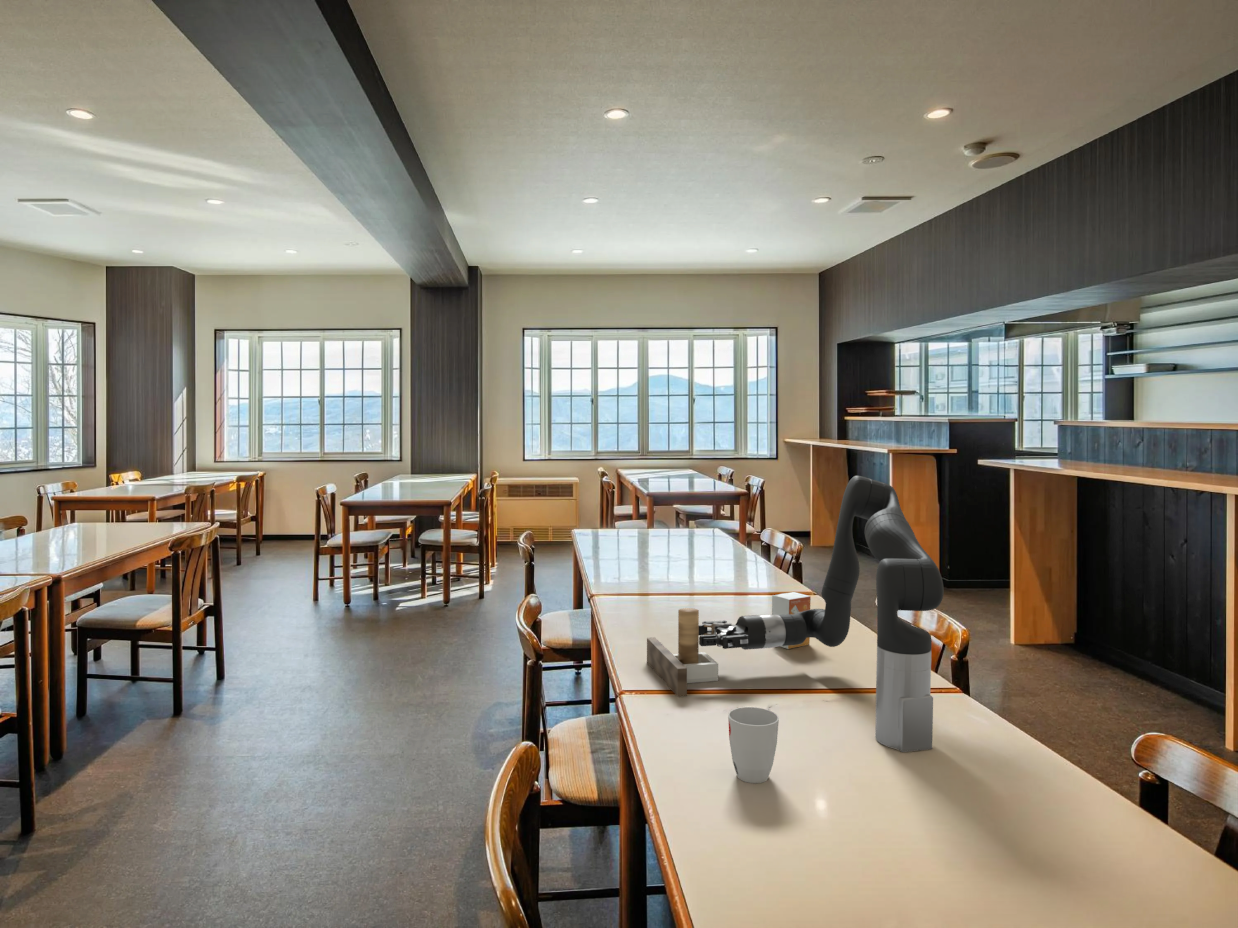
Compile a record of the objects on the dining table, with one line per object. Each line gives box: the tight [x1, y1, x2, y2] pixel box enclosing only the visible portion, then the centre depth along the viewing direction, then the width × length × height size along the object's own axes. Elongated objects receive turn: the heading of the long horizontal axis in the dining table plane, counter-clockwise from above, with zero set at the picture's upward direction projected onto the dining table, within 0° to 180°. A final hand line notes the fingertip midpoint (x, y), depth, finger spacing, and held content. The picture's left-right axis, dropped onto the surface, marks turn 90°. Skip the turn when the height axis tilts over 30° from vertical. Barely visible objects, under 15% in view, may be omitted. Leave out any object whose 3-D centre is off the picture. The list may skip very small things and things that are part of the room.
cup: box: [727, 706, 780, 784], centre depth 126 cm, size 8×8×10 cm
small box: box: [771, 591, 811, 650], centre depth 202 cm, size 8×6×13 cm
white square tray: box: [672, 651, 719, 684], centre depth 173 cm, size 9×9×4 cm
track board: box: [646, 636, 688, 698], centre depth 173 cm, size 24×20×7 cm
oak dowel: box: [677, 607, 700, 664], centre depth 172 cm, size 4×4×14 cm
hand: (693, 635), depth 172 cm, fingers open, 8 cm apart
